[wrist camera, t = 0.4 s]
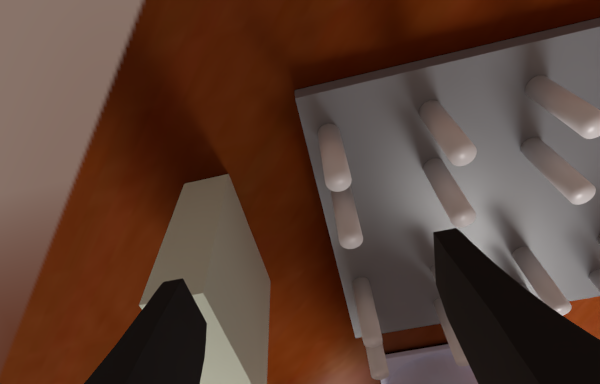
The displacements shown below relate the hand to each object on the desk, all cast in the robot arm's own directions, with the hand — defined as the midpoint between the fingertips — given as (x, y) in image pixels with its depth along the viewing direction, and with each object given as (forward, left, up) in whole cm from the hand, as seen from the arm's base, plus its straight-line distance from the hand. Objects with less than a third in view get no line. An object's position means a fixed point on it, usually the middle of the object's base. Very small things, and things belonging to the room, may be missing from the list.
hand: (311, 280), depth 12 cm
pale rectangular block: (-5, +5, -10) cm, 12 cm away
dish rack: (-6, -8, -10) cm, 14 cm away
